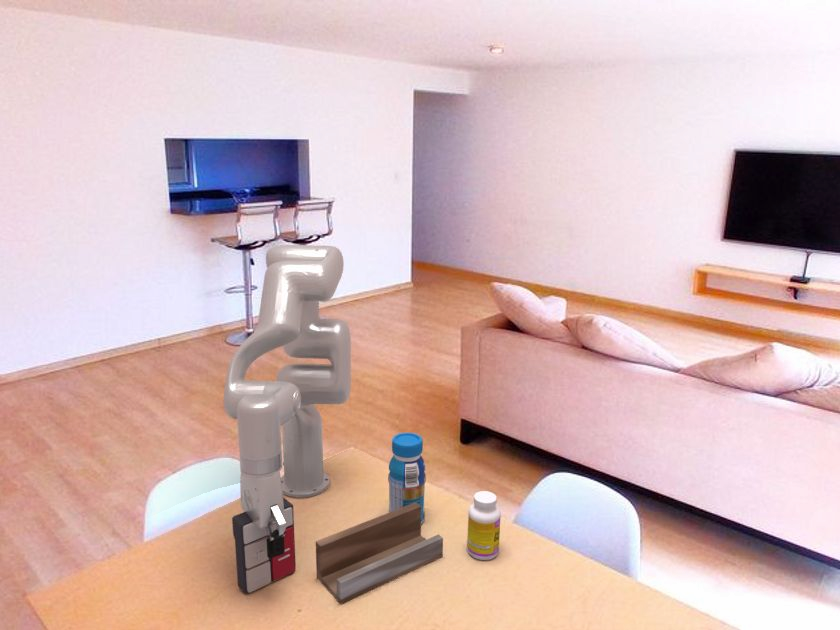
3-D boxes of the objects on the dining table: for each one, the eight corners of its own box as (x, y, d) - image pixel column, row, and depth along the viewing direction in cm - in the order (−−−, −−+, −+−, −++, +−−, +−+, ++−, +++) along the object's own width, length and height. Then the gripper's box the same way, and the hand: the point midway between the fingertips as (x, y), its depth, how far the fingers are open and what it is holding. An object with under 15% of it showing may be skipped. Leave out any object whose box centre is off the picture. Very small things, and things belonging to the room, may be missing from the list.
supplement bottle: (497, 563, 129) (500, 507, 125) (464, 559, 130) (467, 503, 127) (499, 544, 135) (502, 490, 132) (469, 540, 136) (471, 486, 133)
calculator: (246, 597, 118) (242, 526, 114) (236, 585, 121) (231, 516, 117) (298, 572, 125) (295, 505, 121) (287, 562, 128) (284, 496, 124)
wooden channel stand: (316, 577, 124) (315, 541, 122) (415, 534, 138) (415, 502, 136) (341, 604, 117) (340, 566, 115) (442, 556, 131) (443, 522, 129)
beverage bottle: (381, 524, 142) (381, 442, 136) (397, 505, 149) (397, 427, 144) (416, 533, 138) (417, 450, 133) (430, 513, 146) (432, 434, 141)
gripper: (224, 449, 121) (229, 528, 125) (260, 486, 108) (265, 573, 112) (261, 439, 126) (265, 516, 130) (300, 473, 112) (303, 558, 116)
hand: (265, 542), depth 121 cm, fingers open, 9 cm apart
